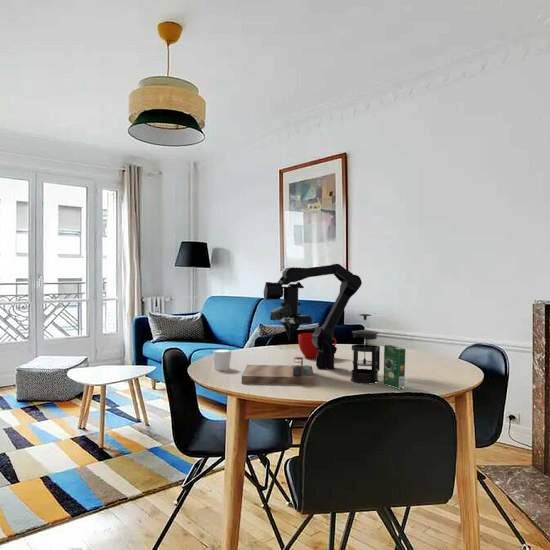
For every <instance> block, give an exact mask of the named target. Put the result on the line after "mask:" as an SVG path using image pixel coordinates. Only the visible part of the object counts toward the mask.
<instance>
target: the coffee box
mask: <svg viewBox="0 0 550 550" xmlns="http://www.w3.org/2000/svg"><path fill="white" fill-rule="evenodd" d="M383 346H384V347H383V348H384V349H383V351H384V352H383V383H384V384H383V385H385V384H388V385H391V386H394V387H397V388H402V387H404V388H405V379H406V378H405V375H406V374H405V372H406V348H403V347H399V346H395V345H392V344H385V345H383ZM388 385H387V386H388ZM391 386H390V387H391ZM394 387H393V388H394Z"/></svg>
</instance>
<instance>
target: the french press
mask: <svg viewBox="0 0 550 550" xmlns="http://www.w3.org/2000/svg"><path fill="white" fill-rule="evenodd" d="M358 316H361V317H363V320H364V326H363V327H364V329H359V330H352V331H351V333H352V337H353V338H358V337H359V338H363V339H364V343H362V344H360V343H359V344H358V343H357V344H352V345H351V350H352V352H353V355H352V357H353V360H352V361H351V362H352V369H351V370H350V372H351V373H350V375H351V376H350V377H351V378H350V381H351V382H352V383H355V384H360V383H361V384H362V383H363V384H362V385H370V384H369V383H374V384H376V383H375V382H378V383H379V379H378V378H379V377H378V375H379V372H380V368H381V367H380V363H381V358H380V357H381V355H380V354H381V352H380V351H381V350H380V349H381V345H375V344H366V341H367V340H369V341H370V340H377V339H378V334H379V332H378V331H374V330H371V329H370V330H368V329H366V325H367V324H366V322H367V318H368V317H371V316H372V314H367V313H361V314H360V313H359V314H358ZM359 353H363V359H359ZM366 353H371V360H367V359H366ZM359 366H360V367H371V368H359Z"/></svg>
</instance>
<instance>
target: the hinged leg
mask: <svg viewBox="0 0 550 550" xmlns="http://www.w3.org/2000/svg"><path fill="white" fill-rule="evenodd" d="M303 360H304V358H303V357H301V356H296V357H293V365H292V366H293V376H301V369H302V367H303V366H304V364H303V362H304V361H303Z"/></svg>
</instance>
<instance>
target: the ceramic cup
mask: <svg viewBox="0 0 550 550" xmlns="http://www.w3.org/2000/svg"><path fill="white" fill-rule="evenodd" d="M313 333H314V332H302V333H299V334H298V337H297V339H298V346H299V350H300V352H301V354H302V355H303V356H304V357H305V358H306V359H315V360H316V355H318V351H317V349H316V346H314V345H313V343H312V337H313V336H312V334H313ZM332 340H333V341H334V342H333V345H334V346H335V347H336V345H337V339H336V338H335V337H333V339H332Z"/></svg>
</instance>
